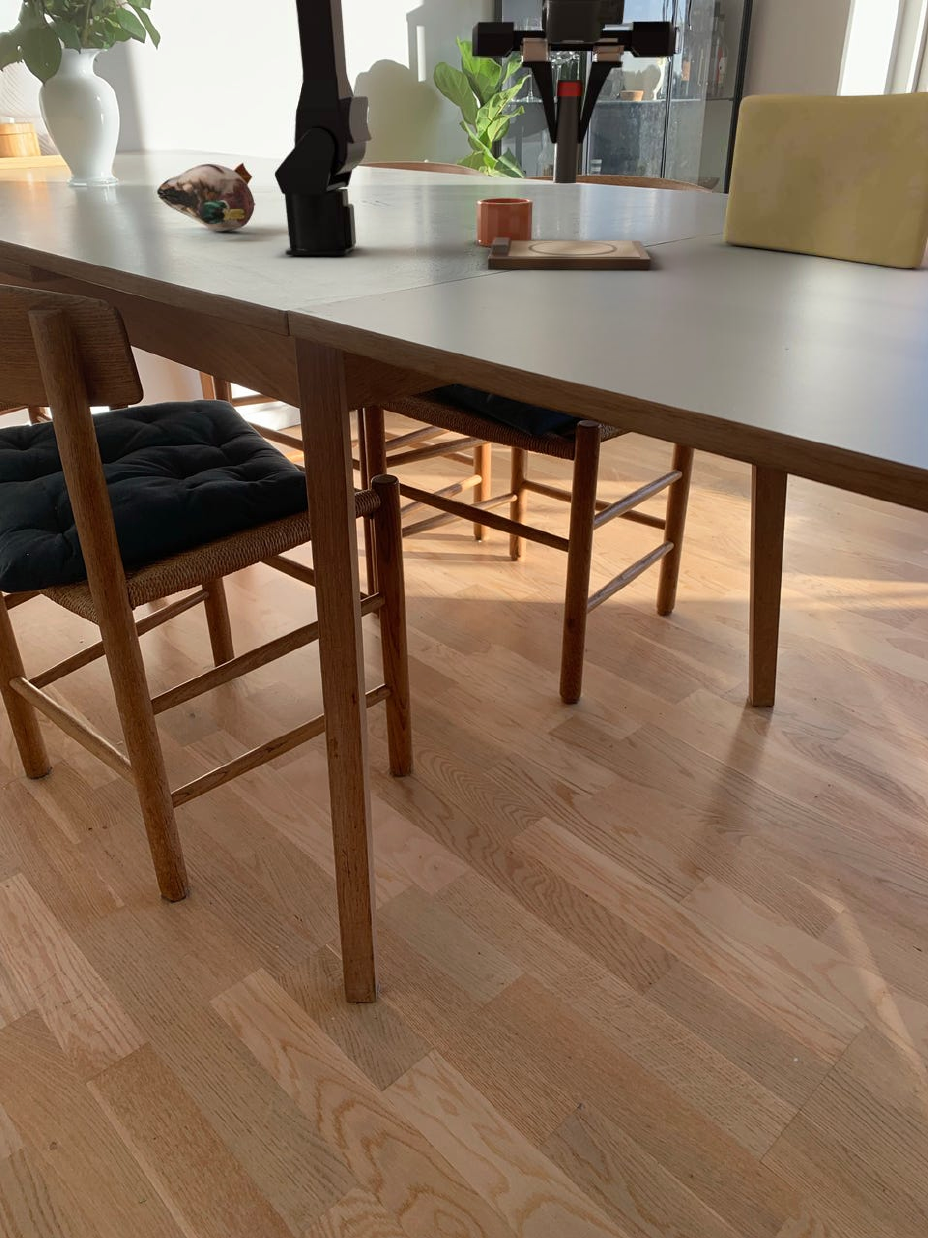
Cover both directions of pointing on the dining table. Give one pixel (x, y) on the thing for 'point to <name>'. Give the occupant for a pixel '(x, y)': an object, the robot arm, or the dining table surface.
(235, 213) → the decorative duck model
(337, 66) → the robot arm
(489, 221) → the pen pot
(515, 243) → the wooden board with ring
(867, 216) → the cheese
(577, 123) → the marker
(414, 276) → the dining table surface
